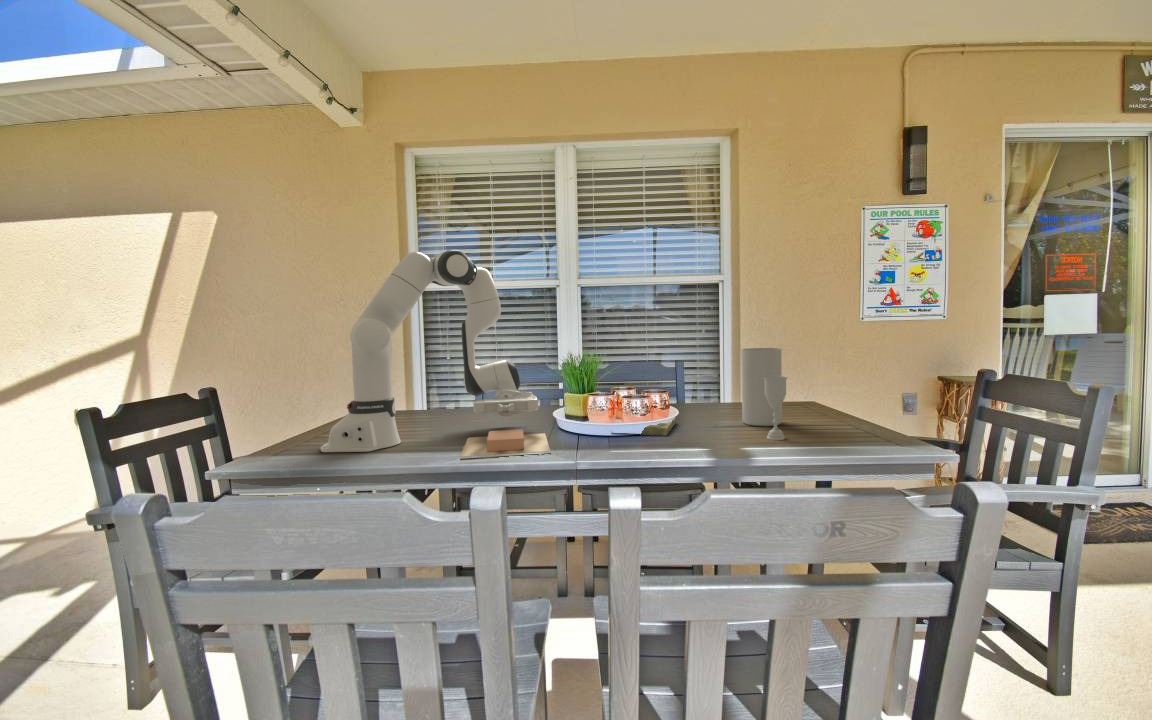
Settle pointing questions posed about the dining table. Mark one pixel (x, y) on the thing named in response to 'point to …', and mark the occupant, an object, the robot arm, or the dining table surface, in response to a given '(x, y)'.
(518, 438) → the terracotta tile
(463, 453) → the oak board
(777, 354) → the cylinder vase
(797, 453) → the dining table surface
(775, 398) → the chalice
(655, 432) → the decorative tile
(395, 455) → the dining table surface
